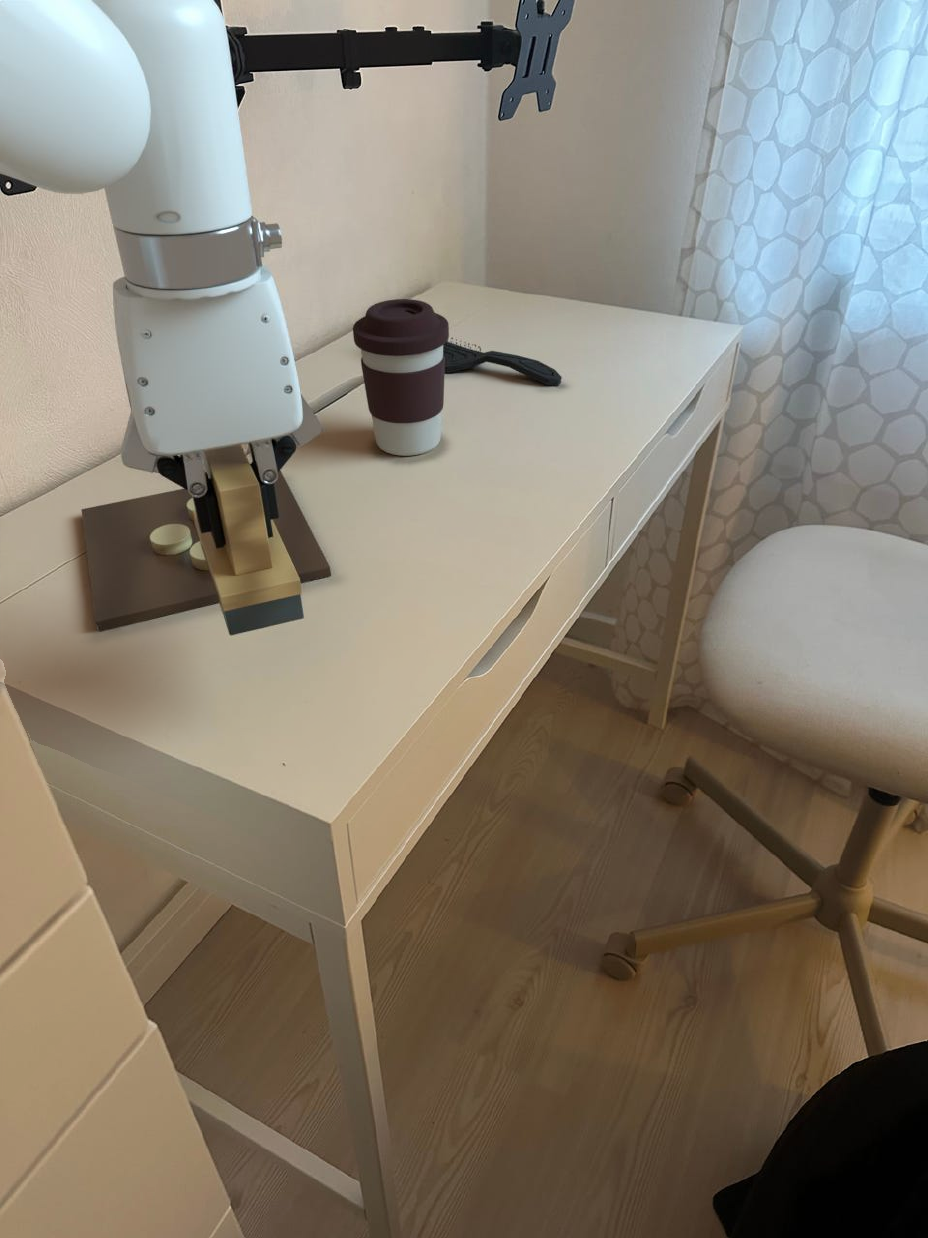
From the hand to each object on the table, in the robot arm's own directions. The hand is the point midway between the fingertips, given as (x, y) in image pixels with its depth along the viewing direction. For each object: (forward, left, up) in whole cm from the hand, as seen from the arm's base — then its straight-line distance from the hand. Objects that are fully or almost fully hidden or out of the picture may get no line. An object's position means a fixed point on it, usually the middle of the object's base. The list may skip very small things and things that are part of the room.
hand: (240, 531), depth 61 cm
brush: (0, 0, -4) cm, 4 cm away
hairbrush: (+38, +50, -13) cm, 64 cm away
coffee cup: (+23, +33, -13) cm, 42 cm away
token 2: (-1, +25, -12) cm, 28 cm away
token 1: (-5, +21, -12) cm, 24 cm away
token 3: (-2, +17, -12) cm, 21 cm away
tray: (-2, +21, -13) cm, 25 cm away
